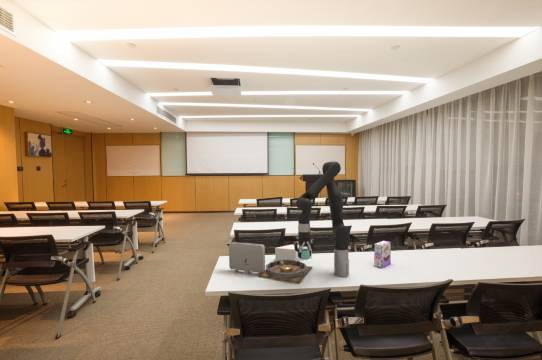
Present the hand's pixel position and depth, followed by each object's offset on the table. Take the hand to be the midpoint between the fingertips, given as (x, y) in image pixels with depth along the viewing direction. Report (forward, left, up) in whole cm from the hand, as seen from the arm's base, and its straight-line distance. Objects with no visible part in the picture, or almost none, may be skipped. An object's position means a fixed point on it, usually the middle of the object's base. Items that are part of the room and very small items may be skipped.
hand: (304, 257), depth 168 cm
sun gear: (+16, -10, -14) cm, 24 cm away
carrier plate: (+16, -10, -16) cm, 25 cm away
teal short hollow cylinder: (0, 0, -1) cm, 1 cm away
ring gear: (+16, -10, -14) cm, 24 cm away
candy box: (-43, -50, -16) cm, 68 cm away
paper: (+21, -38, -16) cm, 46 cm away
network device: (+41, 0, -16) cm, 44 cm away
